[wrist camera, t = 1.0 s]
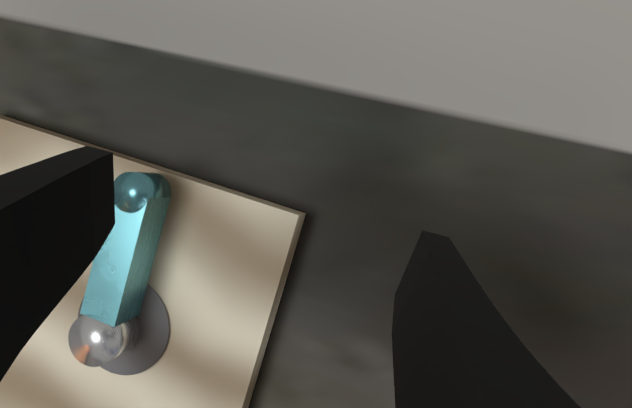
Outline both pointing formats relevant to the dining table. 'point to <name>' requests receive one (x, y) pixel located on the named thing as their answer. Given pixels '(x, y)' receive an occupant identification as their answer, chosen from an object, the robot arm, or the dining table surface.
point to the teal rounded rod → (121, 270)
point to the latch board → (166, 298)
